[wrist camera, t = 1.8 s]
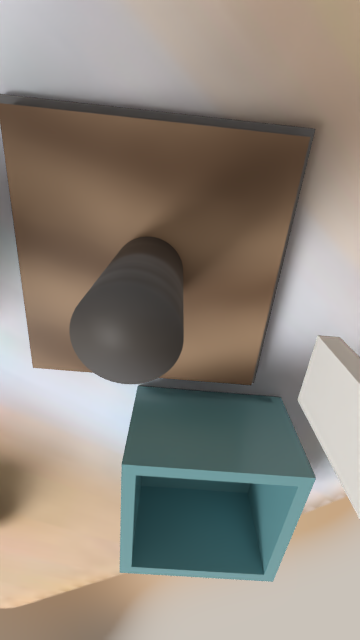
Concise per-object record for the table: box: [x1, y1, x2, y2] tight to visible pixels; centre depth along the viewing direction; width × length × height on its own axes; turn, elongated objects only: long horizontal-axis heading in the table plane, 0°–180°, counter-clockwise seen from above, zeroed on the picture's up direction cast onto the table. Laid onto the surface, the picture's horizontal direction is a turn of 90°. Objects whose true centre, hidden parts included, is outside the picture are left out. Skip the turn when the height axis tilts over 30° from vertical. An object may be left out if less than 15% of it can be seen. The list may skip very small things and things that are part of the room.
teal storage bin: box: [120, 386, 316, 582], centre depth 23 cm, size 11×11×7 cm
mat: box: [0, 94, 315, 383], centre depth 19 cm, size 16×16×1 cm
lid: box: [0, 103, 310, 385], centre depth 15 cm, size 15×15×9 cm
